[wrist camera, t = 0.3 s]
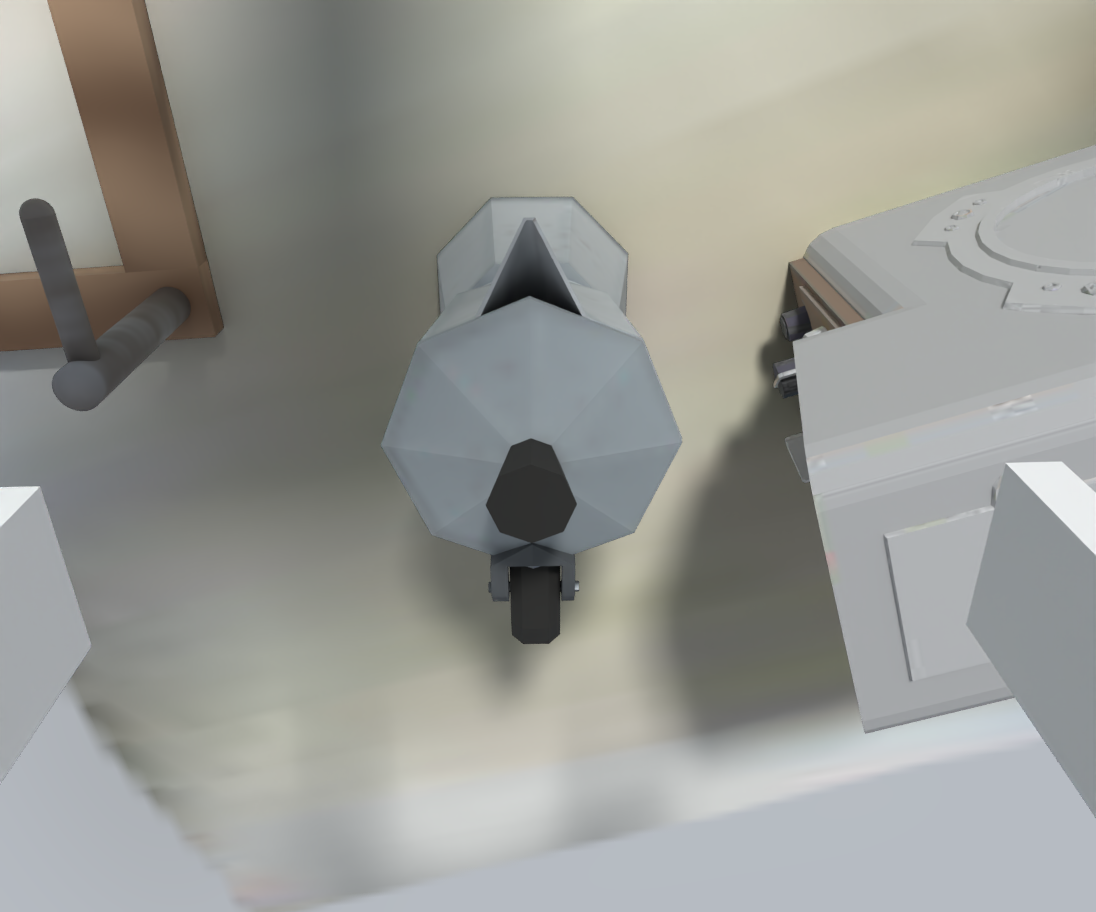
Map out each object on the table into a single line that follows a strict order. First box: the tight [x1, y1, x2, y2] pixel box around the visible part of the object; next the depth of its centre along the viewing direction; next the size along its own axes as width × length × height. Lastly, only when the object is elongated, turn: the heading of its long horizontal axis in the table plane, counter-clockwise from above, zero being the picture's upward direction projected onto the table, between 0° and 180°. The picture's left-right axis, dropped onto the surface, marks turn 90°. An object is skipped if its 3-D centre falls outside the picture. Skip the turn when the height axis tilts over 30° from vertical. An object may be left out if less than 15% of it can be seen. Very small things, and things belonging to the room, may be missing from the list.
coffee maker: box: [381, 197, 682, 644], centre depth 32 cm, size 15×9×18 cm, turn 0°
